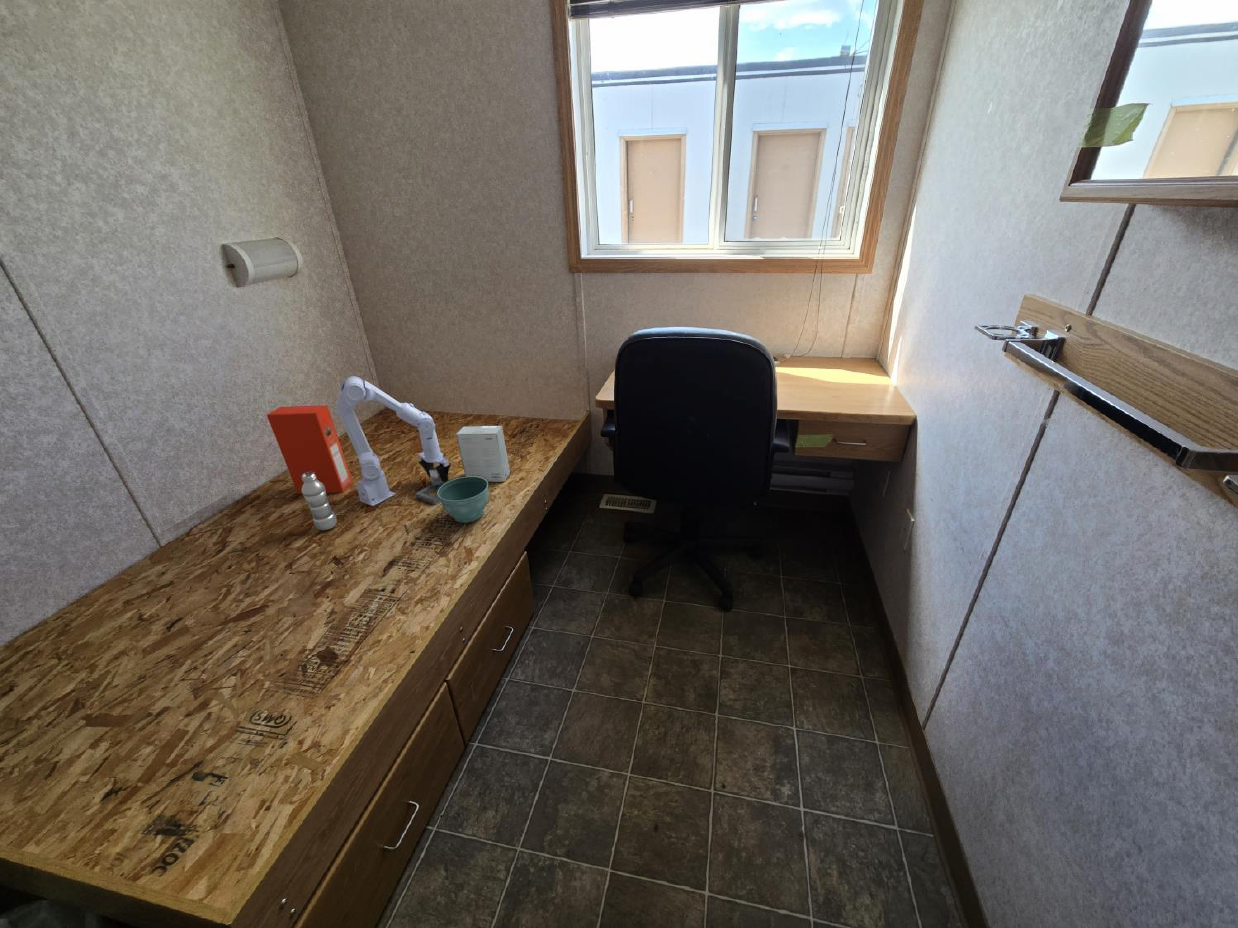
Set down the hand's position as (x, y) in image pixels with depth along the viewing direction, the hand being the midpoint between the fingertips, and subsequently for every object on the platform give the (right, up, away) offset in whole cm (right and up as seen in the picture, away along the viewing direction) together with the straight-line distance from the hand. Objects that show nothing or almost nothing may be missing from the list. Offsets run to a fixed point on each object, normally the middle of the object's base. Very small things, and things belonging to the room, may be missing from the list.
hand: (438, 478), depth 190 cm
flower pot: (+18, -12, -21) cm, 30 cm away
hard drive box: (+18, 0, +3) cm, 19 cm away
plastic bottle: (-28, -16, -24) cm, 40 cm away
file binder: (-43, -4, +1) cm, 43 cm away
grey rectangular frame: (+2, -6, -8) cm, 10 cm away
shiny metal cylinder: (0, -1, +1) cm, 2 cm away
